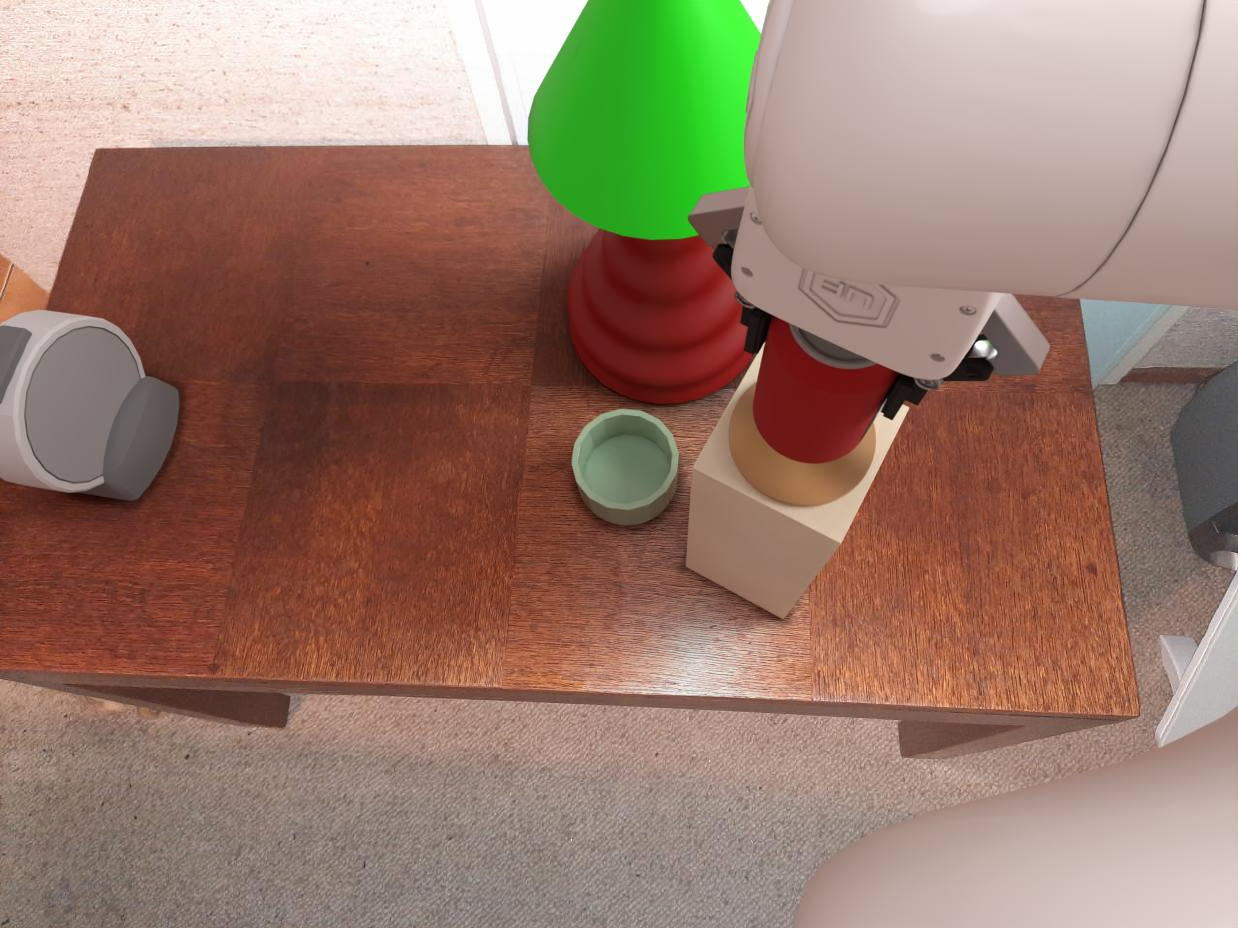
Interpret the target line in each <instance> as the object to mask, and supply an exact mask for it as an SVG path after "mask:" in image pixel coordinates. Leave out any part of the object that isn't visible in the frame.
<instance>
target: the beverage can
mask: <svg viewBox="0 0 1238 928" xmlns="http://www.w3.org/2000/svg"><path fill="white" fill-rule="evenodd" d="M900 375H901V373H899V372H897V371H894V370H892V369H890V368H887V367H885V366H883V365H880V364H878V363H876V362H873V361H871V360H869V359H867V358H864V357H862V356H860V355H858V354H856V353H853V352H851V351H849V350H847V349H844V348H842V347H840V346H838V345H836V344H833V343H831V342H829V341H827V340H825V339H822V338H820V337H818V336H816V335H814V334H812V333H810V332H807V331H805V330H803V329H801V328H799V327H797V326H795V325H792V324H790V323H788V322H786V321H784V320H782V319H780V318H778V317H776V316H774V315H772V316H771V320H770V324H769V328H768V332H767V336H766V341H765V345H764V350H763V354H762V358H761V363H760V368H759V373H758V378H757V383H756V388H755V394H754V399H753V416H754V421H755V424H756V427H757V429H758V431H759V433H760V434H761V436H762V438H763V439H764V440H765V442H766V443H767V444H768V445H769V446H770V447H771V448H772V449H774V450H775V451H776V452H778V453H779V454H781V455H783V456H784V457H786V458H789V459H791V460H794V461H797V462H801V463H808V464H820V463H827V462H831V461H834V460H837V459H839V458H842V457H843V456H845V455H847V454H848V453H850V452H851V451H852V450H854V449H855V448H856V447H857V446H858V444H859V443H860V442H861V441H862V439H863V438H864V436H865V434H866V433H867V431H868V430H869V428H870V426H871V425H872V423H873V422H874V420H875V418H876V416H877V415H878V413H879V411H880V410H881V408H882V406H883V405H884V403H885V401H886V400H887V398H888V396H889V394H890V392H891V391H892V389H893V387H894V385H895V384H896V382H897V380H898V378H899V376H900Z"/></svg>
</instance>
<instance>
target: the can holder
mask: <svg viewBox="0 0 1238 928" xmlns="http://www.w3.org/2000/svg"><path fill="white" fill-rule="evenodd" d="M679 455H680V453H679V450H678V447H677V444H676V440H675V437H674V435H673V433H672V432H671V430H669V429H668V427H667V426H666V425H665V424H664V423H663V422H662V420H661V419H660V418H657V417H655V416H654V415H652V414H649V413H648V412H645V411H643V410H640V409H630V408H629V409H627V408H618V409H615V410H611V411H607V412H604V413H600V414H599V415H597V416H596V417H594V418H593V419H592V420H591V421H590V422H588V423H586V425H585V426H584V427H583V428H582V429H581V431H580V433H579V435H578V436H577V437H576V439H575V441H574V443H573V448H572V453H571V460H570V461H571V462H570V464H571V468H572V471H573V475H574V476H573V477H574V479H575V483H576V485H577V488H578V491H579V495H580V497H581V499H582V501H583V502H584V503H585V505H586V506H587V508H588V509H589V510H590V511H591V512H592V513H593V514H594V515H595V516H597V517H598V518H600V519H602V520H604V521H606V522H607V523H611V524H614V525H619V526H636V525H641V524H643V523H647V522H649V521H651V520H653V519H654V518H656V517H658V516H659V515H660V514H661V513H663V512H664V511H665V510H666V508H667V507H668V506H669V505H670V503H671V502H672V500H673V498H674V496H675V494H676V491H677V488H678V482H679V481H678V480H679V471H680V470H679V466H680V465H679V464H680V461H679V460H680V456H679Z"/></svg>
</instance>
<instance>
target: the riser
mask: <svg viewBox="0 0 1238 928" xmlns="http://www.w3.org/2000/svg"><path fill="white" fill-rule="evenodd" d="M764 345H765V343H764V344H763V346H762V348H761V350H760V351H759V353H758V354H756V355H755V357H754V358H753V360H752V362H751V364H750V365H749V367H748V368H747V370H746V372H745V374H744V375H743V378H742V379H741V381H740V383H739V385H738V386H737V388H736V390H735V391H734V393H733V395H732V397H731V399H730V400H729V402H728V404H727V406H726V407H725V409H724V411H723V413H721V416H720V418H719V419H718V421H717V423H716V425H715V426H714V428H713V430H712V432H711V434H710V435H709V437H708V439H707V440H706V442H705V444H704V446H703V447H702V449H701V451H700V453H699V454H698V456H697V458H696V460H695V461H694V463H693V465H692V467H691V481H690V494H689V495H690V496H689V509H688V511H689V512H688V527H687V540H686V541H687V543H686V556H685V567H686V568H687V569H689V570H691V571H693V572H695V573H696V574H699V575H700V576H702V577H704V578H706V579H708V580H710V581H712V583H713V582H714V583H715V584H716V585H719V586H720V587H723V588H724V589H726V590H728V591H730V592H732V593H734V594H735V595H737V596H739V597H741V598H742V599H745V600H747V601H748V602H750V603H752V604H754V605H755V606H757V607H759V608H761V609H763V610H765V611H767V612H769V613H770V614H773V615H774V616H776V617H778V618H780V619H782V620H784V619H785V618H786V617H787V615H788V614H789V613H790V612H791V610H792V609H793V608H794V606H795V605H796V604H797V603H798V601H799V600H800V598H801V597H802V596H803V594H804V593H805V592H806V590H807V589H808V588H809V587H810V585H811V584H812V583H813V581H814V580H815V579H816V578H817V576H818V575H819V573H820V572H821V571H822V570H823V568H824V567H825V565H826V564H827V563H828V561H829V560H830V559H831V558H832V556H833V555H834V554H835V552H836V551H837V550H838V548H839V547H840V546H841V544H842V543H843V541H844V539H845V536H846V535H847V532H848V531H849V529H850V527H851V525H852V524H853V521H854V519H855V517H856V516H857V513H858V511H859V509H860V508H861V505H862V503H863V501H864V499H865V497H866V496H867V493H868V491H869V489H870V487H871V486H872V484H873V481H874V479H875V478H876V475H877V474H878V471H879V469H880V467H881V466H882V464H883V462H884V459H885V457H886V455H887V453H888V452H889V449H890V448H891V445H892V444H893V442H894V439H895V437H896V436H897V434H898V432H899V430H900V428H901V426H902V424H903V422H904V420H905V418H906V415H907V414H908V412H909V410H910V407H909V406H907V405H905V404H903V405H902V406H901V408H900V409H899V411H898V413H897V414H896V416H895V417H894V419H893V420H890V419H888V418H886V417H884V416H883V415H884V413H881V412H880V411H881V410H880V411H879V413H878V415H877V416H876V418H875V420H874V424H875V430H876V442H877V443H876V452H875V456H874V459H873V462H872V464H871V467H870V469H869V471H868V472H867V474H866V476H865V477H864V478H863V480H862V481H861V482H860V483H859V485H857V486H856V487H855V488H854V489H853V490H852V491H851V492H849V493H848V494H846V495H845V496H843V497H841V498H839V499H837V500H836V501H833V502H830V503H827V504H823V505H818V506H808V507H805V506H793V505H787V504H784V503H781V502H777V501H775V500H773V499H770V498H768V497H767V496H765V495H763V494H762V493H760V492H759V491H757V490H756V489H755V488H753V487H752V486H751V485H750V484H749V483H748V482H747V481H746V480H745V478H744V477H743V476H742V475H741V473H740V472H739V470H738V468H737V467H736V465H735V463H734V460H733V458H732V455H731V451H730V447H729V425H730V419H731V416H732V413H733V410H734V408H735V406H736V404H737V402H738V401H739V399H740V398H741V396H742V395H743V394H744V393H745V392H746V391H747V389H749V388H750V387H751V386H752V385H753V384H754V383H756V382H757V378H758V373H759V368H760V363H761V358H762V354H763V350H764ZM885 402H886V401H885ZM884 404H885V403H884ZM883 406H884V405H883ZM883 406H882V407H883ZM881 409H882V408H881Z"/></svg>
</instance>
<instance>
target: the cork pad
mask: <svg viewBox="0 0 1238 928" xmlns="http://www.w3.org/2000/svg"><path fill="white" fill-rule="evenodd" d="M756 383H757V382H756ZM756 383H754V384H753V385H752V386H751V387H750V388H749V389H747V391H746V392H745V393H744V394H743V395H742V396H741V398H740V399H739V401H738V402H737V404H736V406H735V408H734V410H733V413H732V416H731V419H730V425H729V447H730V451H731V455H732V458H733V460H734V463H735V465H736V467H737V468H738V470H739V472H740V473H741V475H742V476H743V477H744V478H745V480H746V481H747V482H748V483H749V484H750V485H751V486H752V487H753V488H755V489H756V490H757V491H759V492H760V493H762V494H763V495H765V496H767V497H768V498H770V499H773V500H775V501H777V502H781V503H784V504H787V505H793V506H805V507H808V506H818V505H823V504H827V503H830V502H833V501H836V500H837V499H839V498H841V497H843V496H845V495H846V494H848V493H849V492H851V491H852V490H853V489H854V488H855V487H856V486H857V485H859V483H860V482H861V481H862V480H863V478H864V477H865V476H866V474H867V472H868V471H869V469H870V467H871V464H872V462H873V459H874V456H875V452H876V443H877V442H876V430H875V424H874V422H873V423H872V425H871V426H870V428H869V430H868V431H867V433H866V434H865V436H864V438H863V439H862V441H861V442H860V443H859V444H858V446H857V447H856V448H855V449H854V450H852V451H851V452H850V453H848V454H847V455H845V456H843V457H842V458H839V459H837V460H834V461H831V462H827V463H820V464H808V463H801V462H797V461H794V460H791V459H789V458H786V457H784V456H783V455H781V454H779V453H778V452H776V451H775V450H774V449H772V448H771V447H770V446H769V445H768V444H767V443H766V442H765V440H764V439H763V438H762V436H761V434H760V433H759V431H758V429H757V427H756V424H755V421H754V416H753V399H754V394H755V388H756Z"/></svg>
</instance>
